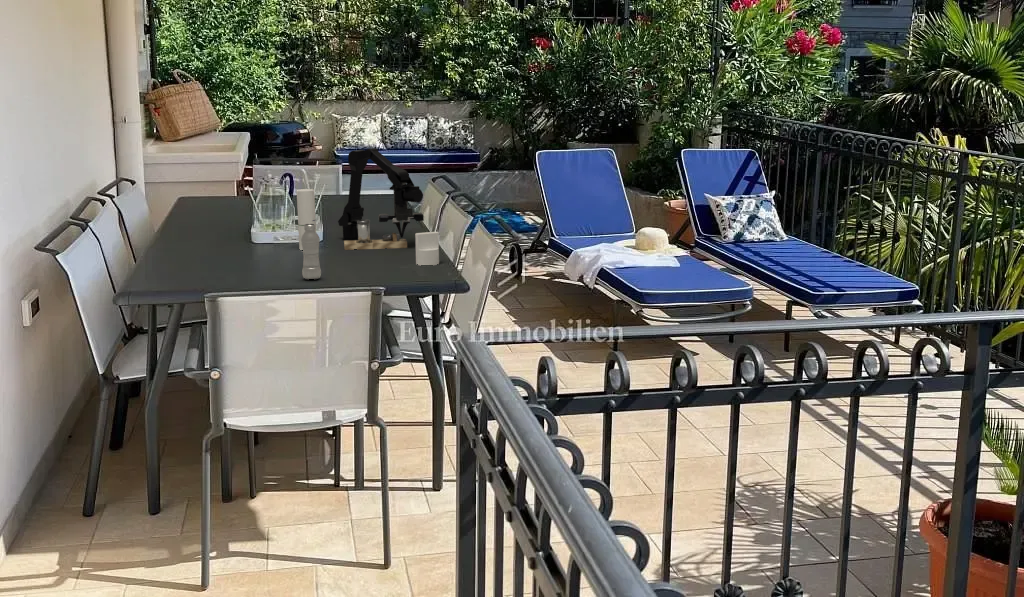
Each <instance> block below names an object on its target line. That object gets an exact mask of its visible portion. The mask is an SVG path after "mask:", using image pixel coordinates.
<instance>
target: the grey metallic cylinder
mask: <svg viewBox="0 0 1024 597" xmlns="http://www.w3.org/2000/svg"><path fill="white" fill-rule="evenodd" d="M357 223H358V224H357V228H358V239H357V240H358V243H370V240H371V236H370V235H371V234H370V233H371V232H370V231H371V230H370V224H371V220H370V219H361V220H357Z"/></svg>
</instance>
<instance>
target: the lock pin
mask: <svg viewBox="0 0 1024 597" xmlns="http://www.w3.org/2000/svg"><path fill="white" fill-rule="evenodd" d="M396 234H397V241H399V239H400V234H399V233H396ZM381 240H383V241H389V240H393V235H392V234H383V235H382V239H381Z"/></svg>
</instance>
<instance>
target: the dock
mask: <svg viewBox="0 0 1024 597" xmlns="http://www.w3.org/2000/svg"><path fill="white" fill-rule="evenodd" d="M397 234H398V233H397V232H391V235H393V240H389V241H383V239H370V243H358V239H357V240H343V243H344V244H343V245H344V247H343V248H344V251H350V250H352V251H355V250H354V249H357V250H378V249H379V250H380V249H381V250H384V249H385V248H387V249H408V241H407V239H406V238H399V241H397Z"/></svg>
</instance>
